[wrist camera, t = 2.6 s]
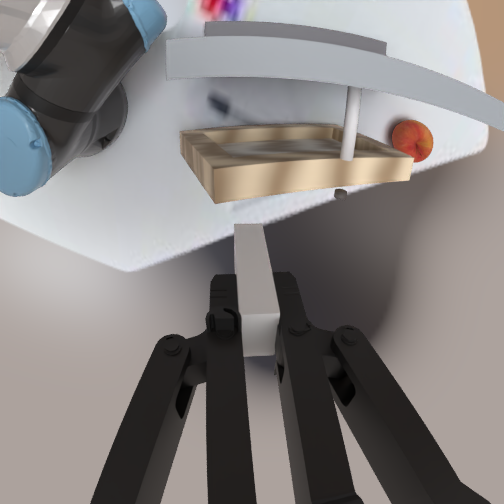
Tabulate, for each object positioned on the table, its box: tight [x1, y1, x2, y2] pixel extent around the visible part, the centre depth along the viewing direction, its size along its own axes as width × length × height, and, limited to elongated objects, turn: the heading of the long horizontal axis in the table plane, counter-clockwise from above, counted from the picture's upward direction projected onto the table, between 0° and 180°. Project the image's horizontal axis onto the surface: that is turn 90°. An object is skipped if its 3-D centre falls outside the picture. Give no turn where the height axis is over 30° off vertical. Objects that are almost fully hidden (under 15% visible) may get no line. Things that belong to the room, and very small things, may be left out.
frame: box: [180, 124, 414, 204], centre depth 32 cm, size 24×4×18 cm, turn 88°
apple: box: [392, 120, 433, 162], centre depth 42 cm, size 7×7×8 cm
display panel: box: [166, 21, 504, 161], centre depth 26 cm, size 28×15×30 cm, turn 88°
